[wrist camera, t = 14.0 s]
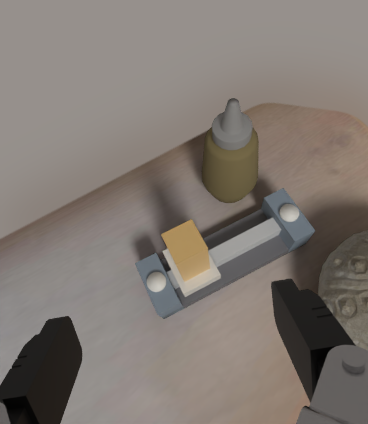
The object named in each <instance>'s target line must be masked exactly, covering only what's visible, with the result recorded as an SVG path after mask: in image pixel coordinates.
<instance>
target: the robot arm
mask: <svg viewBox="0 0 368 424" xmlns="http://www.w3.org/2000/svg"><path fill="white" fill-rule="evenodd" d="M271 288H272V298H273V308H274V317H275V322H276V325H277V329H278V331H279V334H280V336H281V338H282V340H283V342H284V345H285V347H286V349H287V351H288V354H289V356H290V358H291V360H292V363H293V365H294V367H295V369H296V371H297V374H298V376H299V378H300V380H301V383H302V385H303V387H304V389H305V392H306V394H307V396H308V398H309V400H310V406H309V407H307V406H304V407H303V408H302V410H301V412H300V415H299V417H298V420H297V423H296V424H368V351H367V350H366V349H363V348H361V347H358V346H356V345H355V343H354V342H353V341H352V339H351V338H350V337H349V335H348V334H347V333H346V331H345V330H344V329H343V327H342V326H341V324H340V323H339V322H338V320H337V319H336V318H335V316H333V314H332V312H331V311H330V309H329V308H327V305H326V304H325V303H324V301H323V300H322V299H321V297H320V296H318V295H317V294H315V293H314V292H312V291H310V290H309V289H307V290H301V291H299V289H298V288H297V286H296V284H295V283H294V281H293V280H292V279H285V280H279V281H274V282H272V283H271ZM81 362H82V348H81V345H80V342H79V339H78V337H77V334H76V331H75V328H74V326H73V323H72V320H71V318H70V317H69V316H65V317H60V318H54V319H49V320H47V321H46V323H45V325H44V327H43V328H42V330H41V332H40V334H38V335H35V336H34V337H33V338H32V339H31V340H30V341H29V342H28V343H27V344H26V345H24V347H23V349H22V350H21V352H20V354H19V355H18V359H16V360H15V362H14V364H13V365H12V369H10V370H9V372H8V374H7V375H6V377H5V379H4V380H3V382H2V384H1V385H0V424H60V423H61V420H62V417H63V414H64V411H65V408H66V406H67V403H68V400H69V397H70V394H71V391H72V388H73V385H74V383H75V380H76V377H77V374H78V371H79V368H80V365H81Z"/></svg>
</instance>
